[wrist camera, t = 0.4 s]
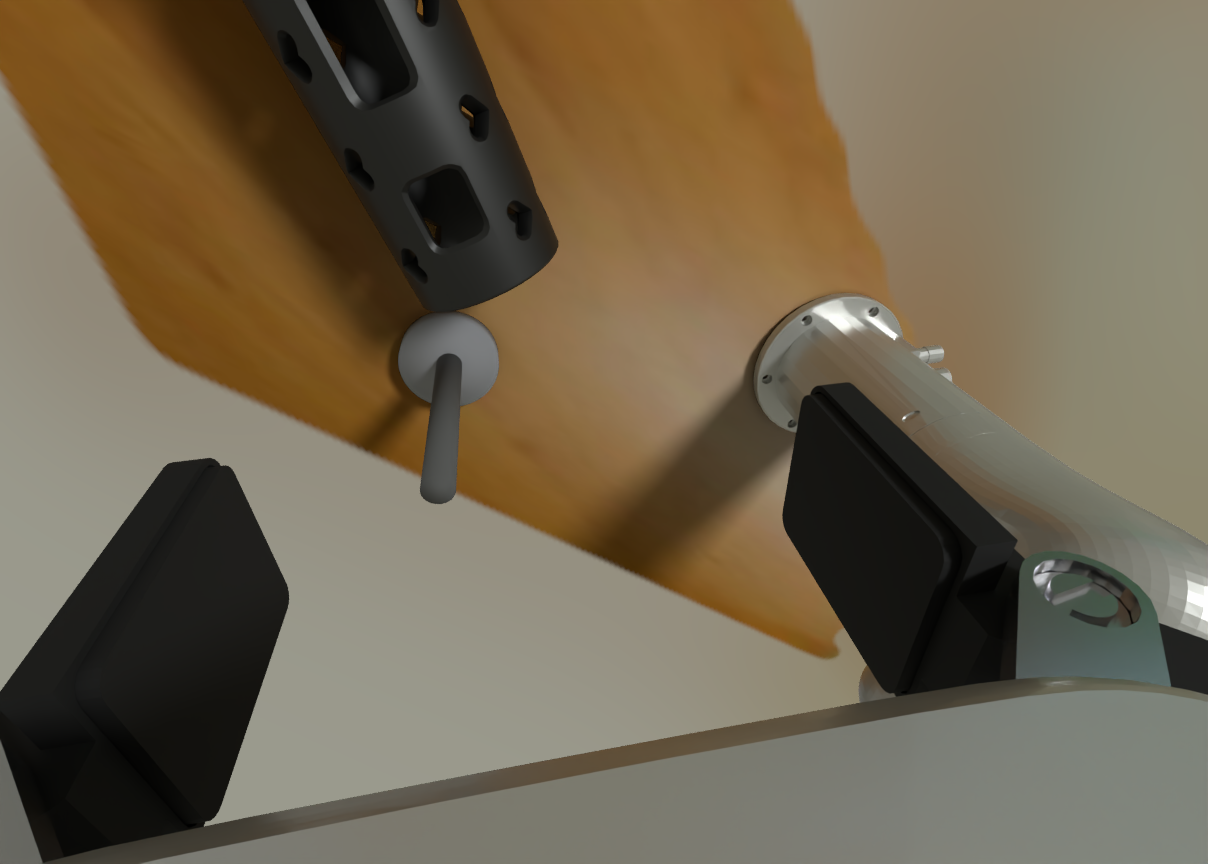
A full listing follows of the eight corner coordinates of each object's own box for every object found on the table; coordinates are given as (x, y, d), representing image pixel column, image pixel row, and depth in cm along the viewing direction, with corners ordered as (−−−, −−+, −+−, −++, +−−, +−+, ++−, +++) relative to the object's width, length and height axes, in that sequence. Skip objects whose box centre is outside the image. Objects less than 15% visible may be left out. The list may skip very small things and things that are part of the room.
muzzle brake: (425, 273, 41) (411, 336, 33) (86, -325, 25) (-112, -505, 17) (554, 217, 41) (573, 266, 32) (289, -430, 25) (189, -670, 16)
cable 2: (490, 305, 43) (495, 425, 30) (504, 390, 47) (514, 529, 34) (389, 316, 42) (349, 445, 29) (412, 402, 46) (386, 549, 33)
